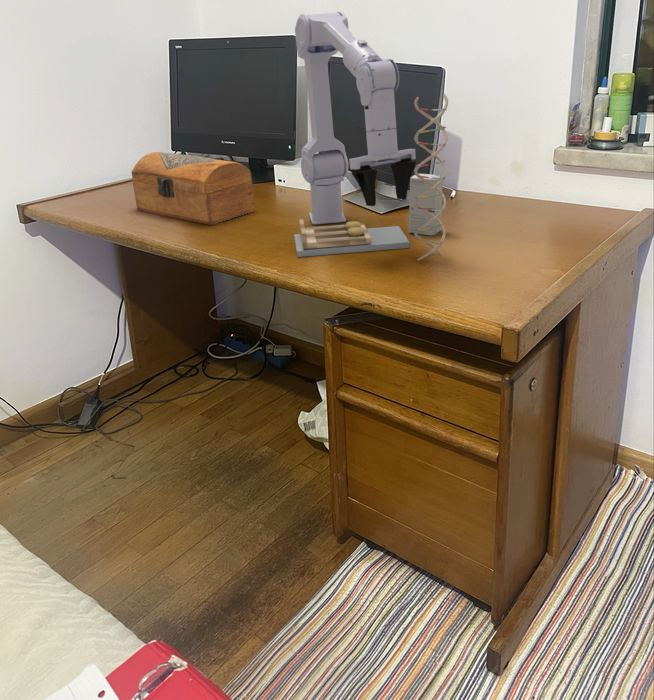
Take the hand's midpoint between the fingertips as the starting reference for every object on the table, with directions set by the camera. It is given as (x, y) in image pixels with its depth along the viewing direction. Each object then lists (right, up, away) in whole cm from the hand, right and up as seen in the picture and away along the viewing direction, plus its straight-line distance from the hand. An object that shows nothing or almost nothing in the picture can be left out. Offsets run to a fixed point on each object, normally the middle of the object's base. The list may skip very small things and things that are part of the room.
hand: (386, 202), depth 134 cm
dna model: (+8, -11, 0) cm, 14 cm away
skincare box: (+10, -3, +15) cm, 19 cm away
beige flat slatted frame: (-10, -5, +10) cm, 15 cm away
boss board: (-7, -6, +11) cm, 14 cm away
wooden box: (-46, +7, +43) cm, 64 cm away
